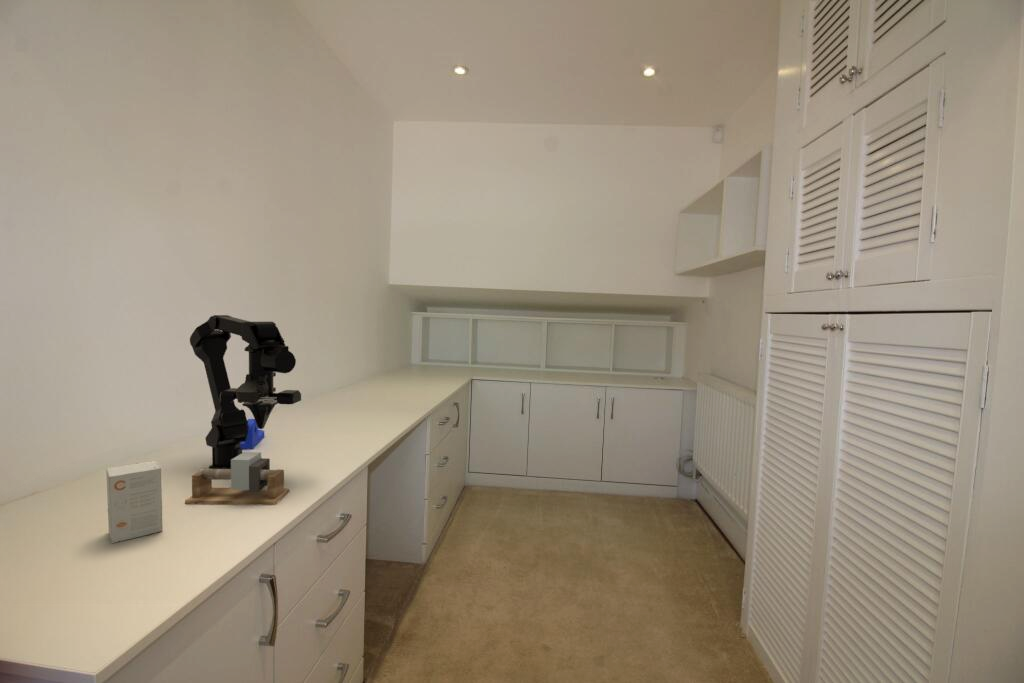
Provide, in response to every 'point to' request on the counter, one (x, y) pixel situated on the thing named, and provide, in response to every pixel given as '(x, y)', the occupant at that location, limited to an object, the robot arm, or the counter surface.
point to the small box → (134, 500)
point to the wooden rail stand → (212, 495)
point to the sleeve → (242, 469)
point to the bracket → (252, 435)
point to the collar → (258, 475)
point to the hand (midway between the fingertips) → (261, 428)
